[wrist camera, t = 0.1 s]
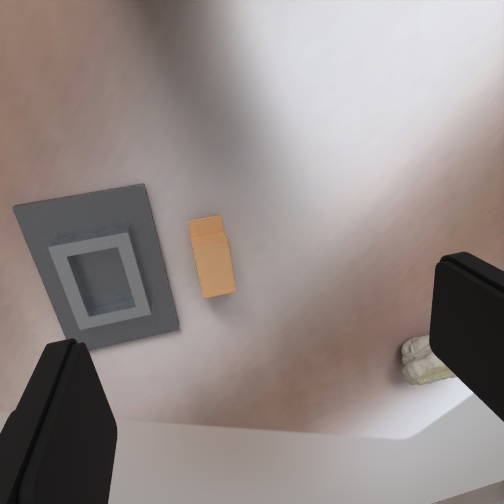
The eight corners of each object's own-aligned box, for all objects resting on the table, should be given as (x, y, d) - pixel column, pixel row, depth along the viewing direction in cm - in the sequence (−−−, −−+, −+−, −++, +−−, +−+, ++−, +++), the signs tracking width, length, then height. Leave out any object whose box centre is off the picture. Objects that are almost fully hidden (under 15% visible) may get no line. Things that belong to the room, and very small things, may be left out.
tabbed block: (186, 215, 46) (189, 232, 40) (218, 209, 46) (225, 225, 41) (201, 289, 50) (206, 312, 45) (230, 282, 51) (238, 305, 45)
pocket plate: (15, 205, 41) (5, 213, 38) (143, 183, 43) (142, 189, 40) (73, 349, 49) (68, 363, 47) (179, 325, 51) (179, 338, 49)
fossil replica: (459, 342, 65) (437, 301, 61) (500, 369, 57) (477, 325, 53) (404, 384, 65) (379, 346, 61) (437, 417, 57) (411, 376, 53)
